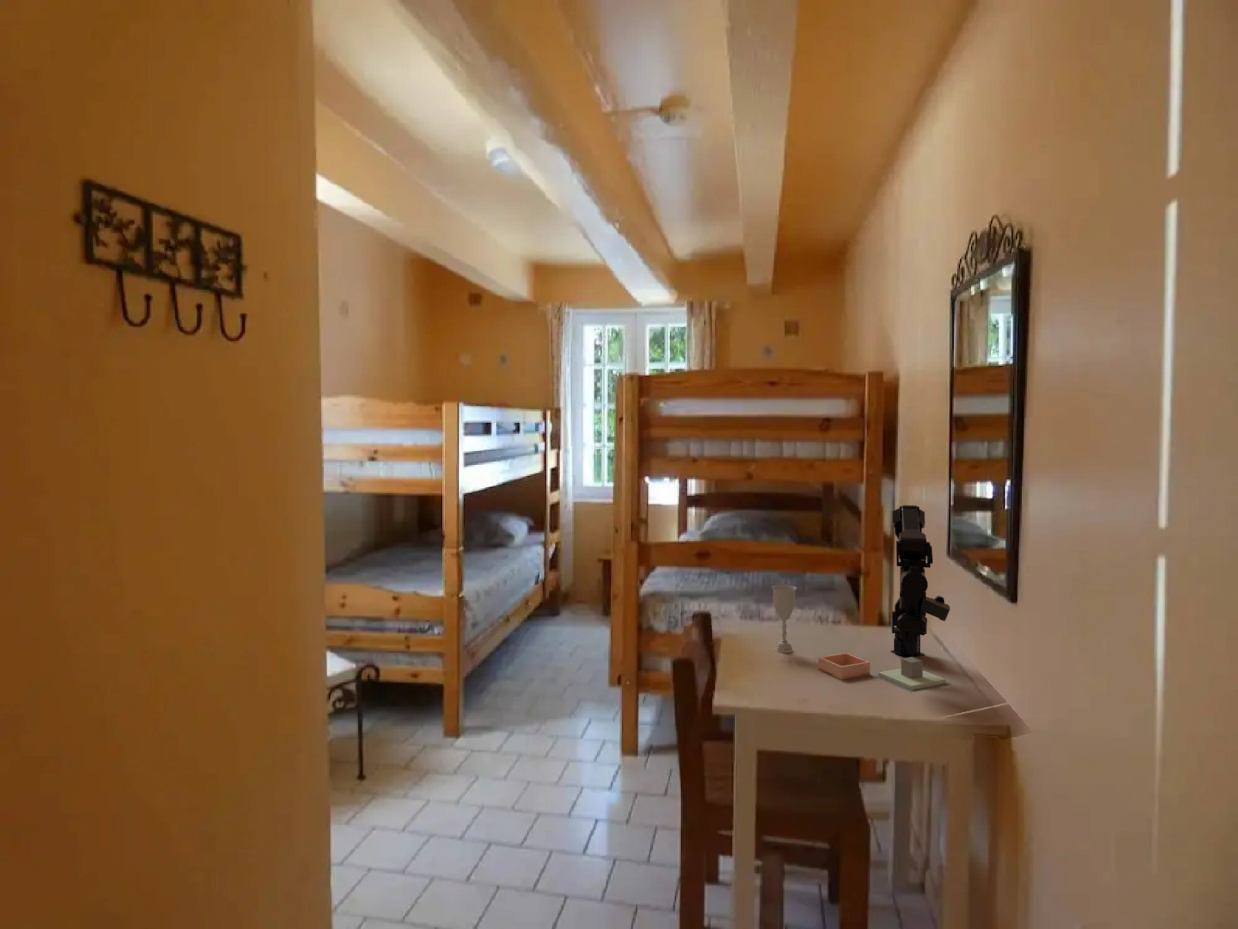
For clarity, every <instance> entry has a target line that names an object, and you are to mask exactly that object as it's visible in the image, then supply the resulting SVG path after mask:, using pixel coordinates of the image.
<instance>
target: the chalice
mask: <svg viewBox="0 0 1238 929" xmlns="http://www.w3.org/2000/svg"><path fill="white" fill-rule="evenodd" d="M771 589H772V595H773V598H772V599H773V603H772V604H773V608H774V610H775V613H776V615H777V616H778V618H779V620H781V621H782V624H781V626H780V627H781V629H782V631H781V633H780V634H781V635H782V639H781V640H780V641H778V643H777V645H776V648H775V649H774V651H775V650H776V651H775V652H777V653H780V654H781V653H783V654H789V653H793V652H794V649H793V646H792V644H791V643H790V641H787V635H788V633H787V628H788V627H787V621H788V620H789V619H791V618H790V617H791V616H792V614H793V612H794V609H795V607H796V606H795V605H796V591H797V587H796V586H794V585H789V584H775V585H772V586H771Z"/></svg>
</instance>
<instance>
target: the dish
mask: <svg viewBox="0 0 1238 929" xmlns="http://www.w3.org/2000/svg"><path fill="white" fill-rule="evenodd" d="M817 666H818V667H817V668H818V670H819V671H821V672H824V673H826V674H828V675H830V676H832V677H834V678H837V679H839V680H841V681H842V680H847V679H853V678H858V677H864V676H869V675H871V662H870V661H867V660H865V659H863V658H861V657H857V656H855V655H852V654H850V653H847V652H843V653H836V654H831V655H824V656H819V657H818V665H817Z"/></svg>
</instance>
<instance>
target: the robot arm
mask: <svg viewBox="0 0 1238 929" xmlns="http://www.w3.org/2000/svg"><path fill="white" fill-rule="evenodd" d="M925 526H926V513H925V511H924V510H921V509H920V506H917V505H915V504H914V505H913V504H912V505H911V504H910V505H908V504H907V505H905V504H903V505H901V506H900V505H899V508H897V509H895V510H892V512H891V528H894V530H893V531H894V535H895V537H896V539H897V540H896V541H895V554H896V555H895V556H896V557H895V558H896V560H895V562H896V567H900V568H899V597H898V599H897V600H896V602H895V604H894V610H892V611H891V620H890V621H891V634H894V639H893V650H890V653H893V654H895V655H897V656H900V657H903V658H909V657H914V658H917V657H921V656H925V655H926V654H925V653H923V652H921V636H925V635H927V632H928V631H927V627H928V626H927V625H928V618H927V617H926V616H927V614H928V615H930V616H932V617H935V618H937V619H939V620H940V621H943V622H946V620H947V618H948V616H949V613H950V611H951V606H949V604H948V603H945V597H943V596H941V595H937V596H935V597H934V598H933V597H929V596H927V590H928V588H929V587H928V586H929V583H928V579H927V577H926V568H928V569H930V568H931V564H932V565H933V563H934V561H933V560H934V559H933V558H934V557H933V556H934V555H933V546H932V545H931V542H930V541H927V536H926V534H925V533H924V532H923V529H925Z"/></svg>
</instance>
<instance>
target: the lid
mask: <svg viewBox="0 0 1238 929" xmlns="http://www.w3.org/2000/svg"><path fill="white" fill-rule="evenodd" d="M923 662H924V661H923V660H921V659H919V658H917V657H909V658H905V657H903V658H901V659H900V664H901V665H900V668H896V669H890V670H885V671H879V672H878V675H879V677H882V678H884V679H886V680H889V681H891V682H893V683H896V684H898V685H901V686H903V687H905V688H908V689H910V690H914V689H919V688H924V687H930V686H935V685H940V684H945V683H946V682H947V679H946V678H943V677H941V676H938V675H937V674H934V673H931V672H928V671H925V670H924V668H923V667H924V664H923Z"/></svg>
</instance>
